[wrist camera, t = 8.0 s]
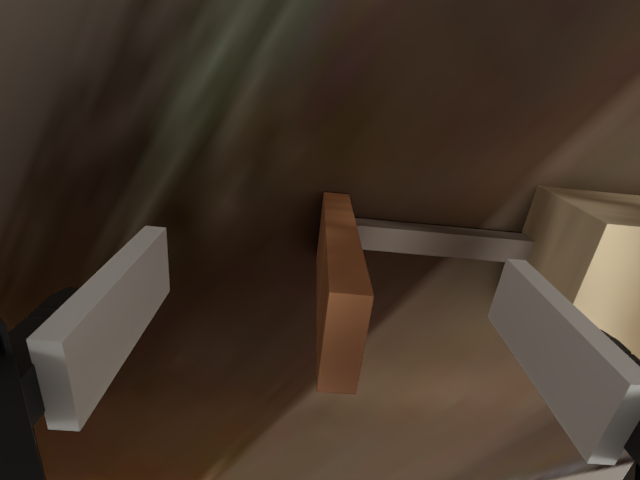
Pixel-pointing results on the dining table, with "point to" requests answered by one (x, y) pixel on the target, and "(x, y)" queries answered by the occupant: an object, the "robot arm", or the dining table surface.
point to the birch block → (531, 245)
